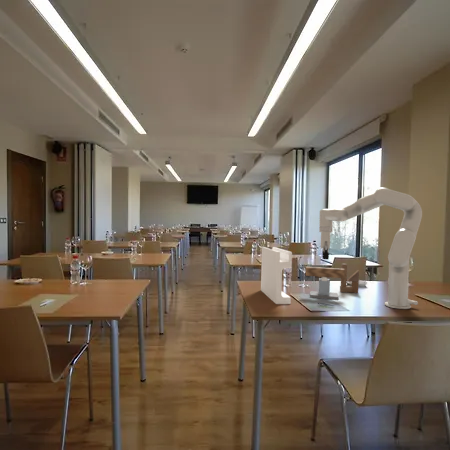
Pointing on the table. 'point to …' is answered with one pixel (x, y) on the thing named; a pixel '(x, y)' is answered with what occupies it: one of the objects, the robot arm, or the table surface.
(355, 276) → the wooden angled stand
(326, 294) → the stand
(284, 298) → the block
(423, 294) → the table surface
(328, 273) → the walnut beam
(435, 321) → the table surface
